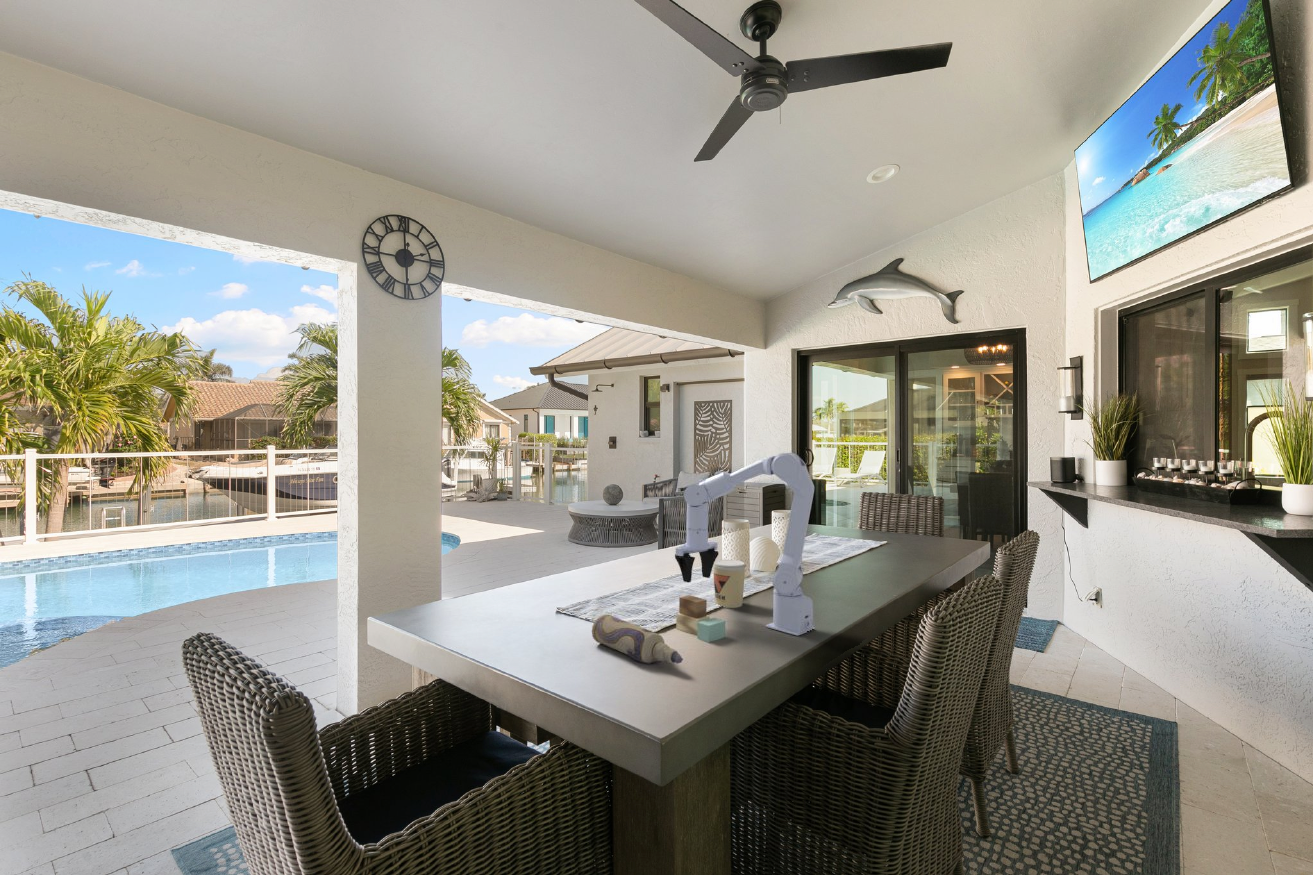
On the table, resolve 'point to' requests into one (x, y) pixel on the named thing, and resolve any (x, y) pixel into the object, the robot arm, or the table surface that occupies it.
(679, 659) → the decorative bottle
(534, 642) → the table surface
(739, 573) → the coffee cup
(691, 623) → the maple block
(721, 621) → the teal block
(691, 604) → the walnut block
